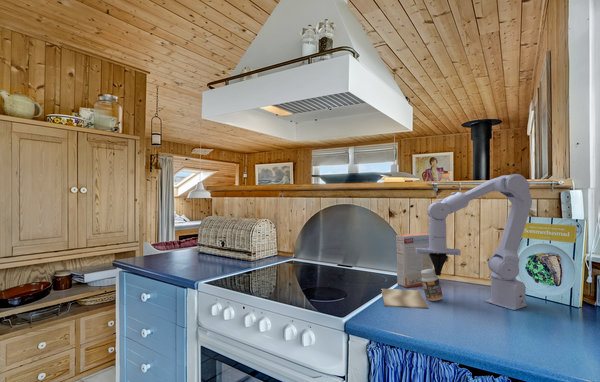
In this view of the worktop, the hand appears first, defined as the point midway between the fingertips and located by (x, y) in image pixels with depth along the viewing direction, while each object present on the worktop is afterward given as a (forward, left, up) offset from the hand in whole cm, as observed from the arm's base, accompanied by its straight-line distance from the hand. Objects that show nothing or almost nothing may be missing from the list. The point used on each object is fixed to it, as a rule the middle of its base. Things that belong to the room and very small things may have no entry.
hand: (437, 274), depth 112 cm
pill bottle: (+1, +1, -9) cm, 9 cm away
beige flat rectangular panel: (+8, +9, -9) cm, 15 cm away
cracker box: (+18, -8, -9) cm, 21 cm away
